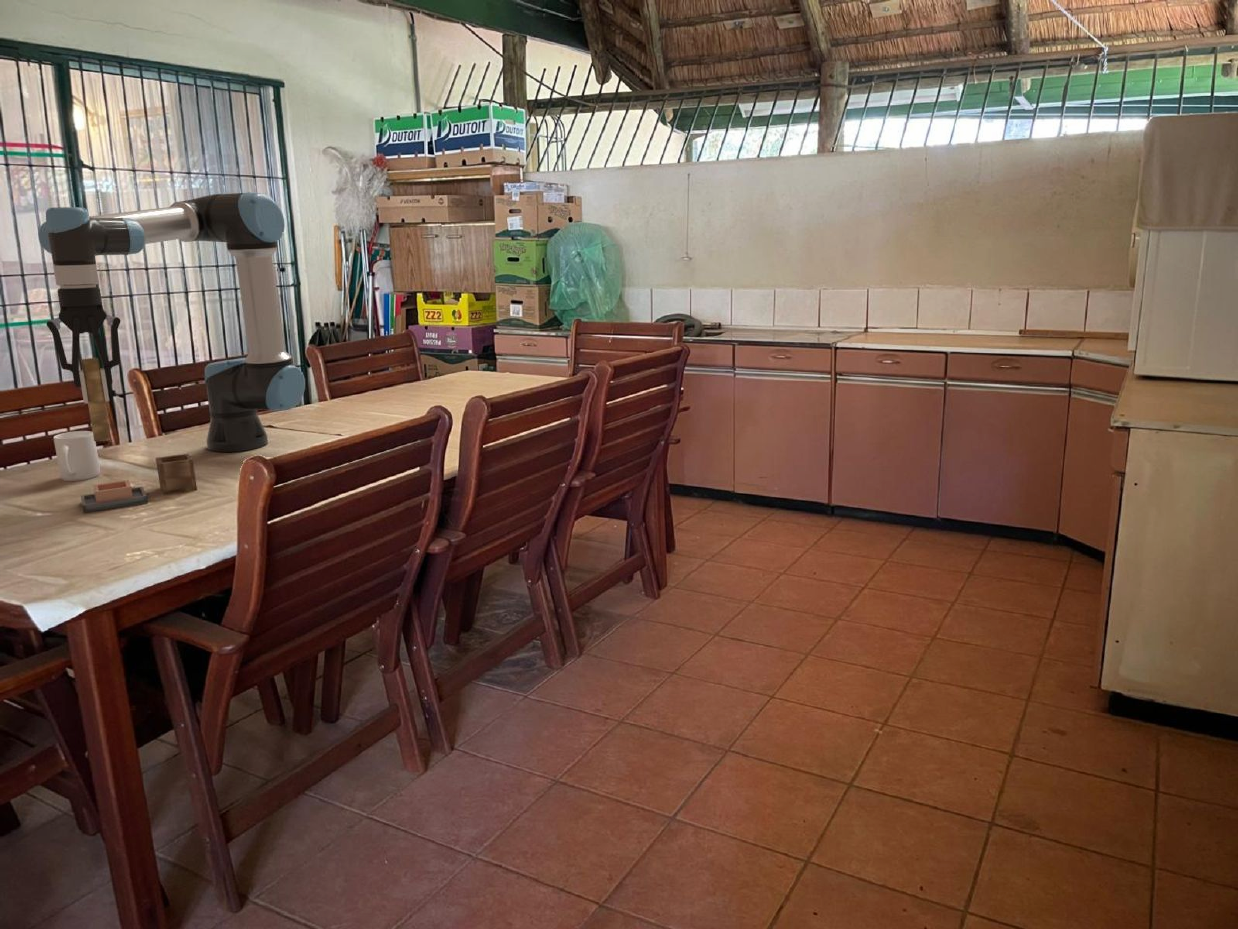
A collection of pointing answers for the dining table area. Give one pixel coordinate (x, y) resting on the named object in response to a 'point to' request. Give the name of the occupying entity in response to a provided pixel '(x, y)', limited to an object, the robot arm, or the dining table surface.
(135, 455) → the dining table surface
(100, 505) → the tray
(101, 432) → the dowel
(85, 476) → the mug
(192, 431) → the dining table surface
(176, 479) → the pen cup
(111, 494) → the holder
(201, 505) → the dining table surface
